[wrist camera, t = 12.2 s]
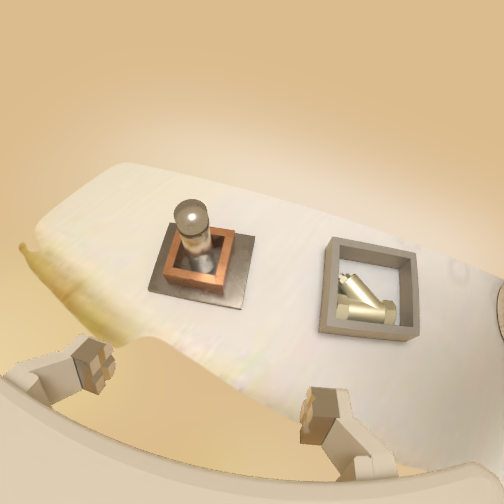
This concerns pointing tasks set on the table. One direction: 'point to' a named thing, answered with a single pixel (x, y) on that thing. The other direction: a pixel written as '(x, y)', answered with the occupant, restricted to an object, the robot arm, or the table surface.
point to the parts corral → (378, 257)
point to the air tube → (195, 234)
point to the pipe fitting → (362, 303)
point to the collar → (199, 284)
